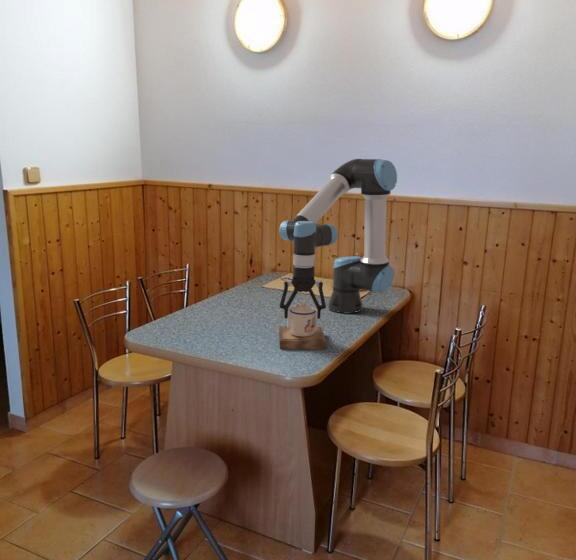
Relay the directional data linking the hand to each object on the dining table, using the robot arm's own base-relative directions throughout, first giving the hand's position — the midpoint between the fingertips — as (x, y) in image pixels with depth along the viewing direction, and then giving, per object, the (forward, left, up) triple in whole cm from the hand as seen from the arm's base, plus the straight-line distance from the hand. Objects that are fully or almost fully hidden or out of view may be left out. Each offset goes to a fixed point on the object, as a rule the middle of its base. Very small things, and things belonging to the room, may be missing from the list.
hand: (302, 326), depth 198 cm
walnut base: (0, 0, -5) cm, 5 cm away
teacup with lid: (-1, 0, -2) cm, 2 cm away
